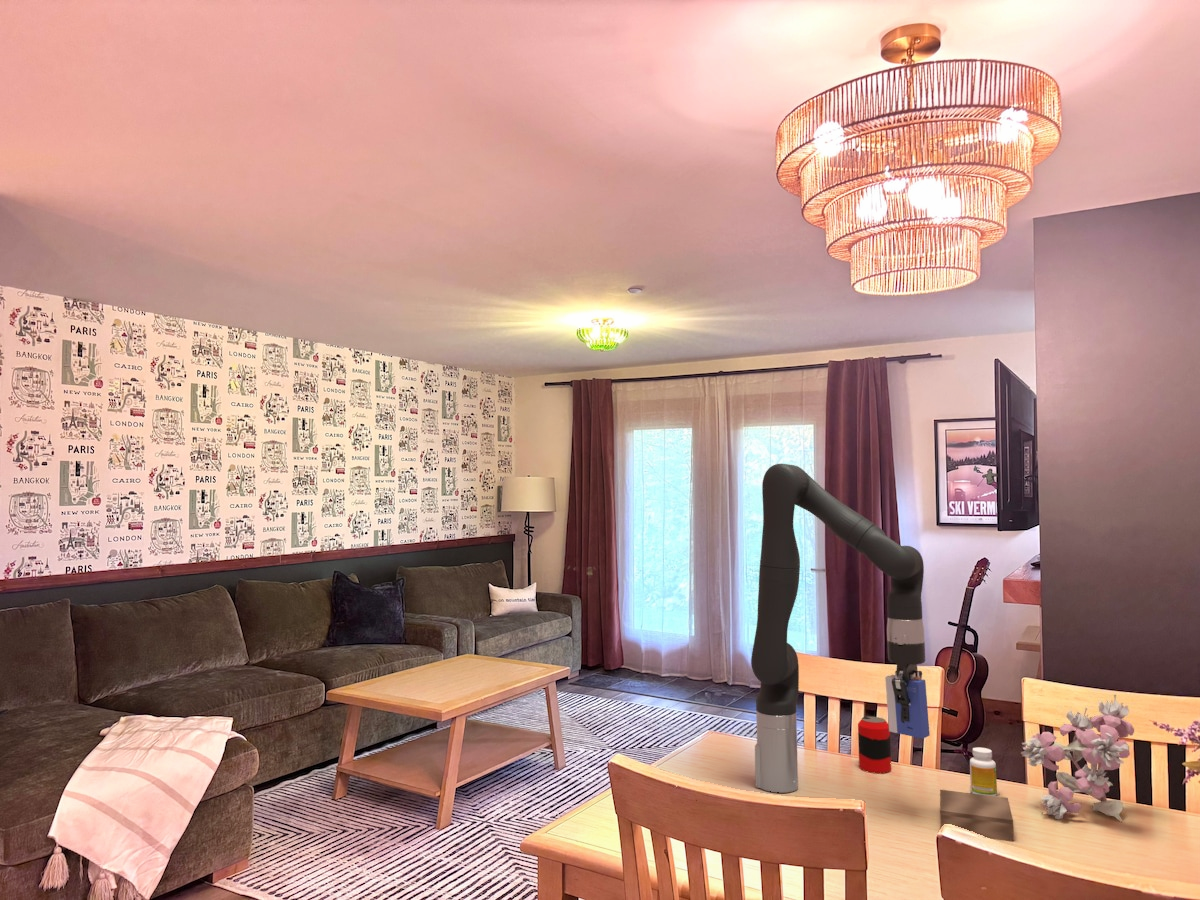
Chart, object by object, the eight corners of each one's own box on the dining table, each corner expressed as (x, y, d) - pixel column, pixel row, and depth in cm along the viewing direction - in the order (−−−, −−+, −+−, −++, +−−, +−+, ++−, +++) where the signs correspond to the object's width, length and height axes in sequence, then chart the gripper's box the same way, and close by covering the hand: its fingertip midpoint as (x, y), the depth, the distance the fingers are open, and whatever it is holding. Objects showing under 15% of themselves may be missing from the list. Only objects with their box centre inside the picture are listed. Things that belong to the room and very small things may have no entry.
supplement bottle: (1000, 798, 177) (998, 754, 178) (974, 797, 178) (972, 752, 179) (993, 790, 182) (991, 747, 183) (968, 788, 183) (966, 745, 184)
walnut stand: (941, 831, 159) (940, 810, 159) (940, 808, 171) (940, 789, 171) (1013, 841, 154) (1013, 820, 154) (1008, 817, 166) (1007, 797, 166)
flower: (1017, 778, 185) (1007, 690, 178) (1129, 779, 177) (1124, 687, 170) (1035, 848, 168) (1024, 753, 160) (1160, 853, 160) (1155, 753, 152)
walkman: (929, 735, 167) (925, 678, 167) (922, 739, 165) (918, 680, 166) (895, 728, 173) (891, 672, 174) (888, 731, 171) (884, 675, 172)
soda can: (868, 762, 203) (866, 714, 204) (896, 768, 198) (895, 719, 198) (853, 768, 198) (852, 719, 199) (882, 776, 192) (880, 725, 193)
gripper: (898, 633, 179) (901, 712, 177) (877, 642, 168) (880, 726, 166) (933, 636, 174) (936, 717, 173) (913, 645, 163) (917, 731, 162)
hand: (908, 721), depth 169 cm, fingers closed on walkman, 2 cm apart
